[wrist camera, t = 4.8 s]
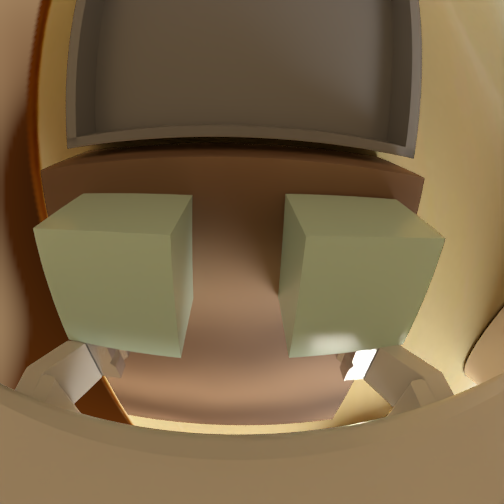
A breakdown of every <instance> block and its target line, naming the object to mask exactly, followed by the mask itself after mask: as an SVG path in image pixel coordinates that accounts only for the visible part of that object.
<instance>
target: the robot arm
mask: <svg viewBox="0 0 504 504" xmlns="http://www.w3.org/2000/svg"><path fill="white" fill-rule="evenodd" d="M129 354H130V351H125V350H119V349H113V348H108V347H103V346H98V345H93V344H88V343H83V342H79V341H74V340H71V341H67V342H65V343H64V344H62V345H60V346H59V347H57V348H56V349H54V350H53V351H51V352H50V353H48V354H47V355H45V356H44V357H42V358H40V359H39V360H37V361H36V362H34V363H33V364H31V365H30V366H28V367H27V368H26V370H25V372H24V374H23V376H22V377H21V379H20V381H19V383H18V385H17V387H16V389H15V390H13V389H11V388H8V387H7V386H4V385H2V384H0V504H504V307H503V308H502V310H501V311H500V312H499V314H498V315H497V316H496V317H495V319H494V320H493V321H492V322H491V324H490V325H489V326H488V328H487V329H486V330H485V332H484V333H483V335H482V336H481V338H480V339H479V340H478V342H477V344H476V345H475V347H474V348H473V350H472V352H471V354H470V356H469V358H468V360H467V362H466V365H465V370H464V372H465V375H466V376H467V377H469V378H470V379H471V380H472V381H474V382H475V383H476V384H477V386H475V387H472V388H470V389H468V390H465V391H463V392H461V393H458V394H456V395H454V394H453V392H452V390H451V389H450V387H449V385H448V383H447V381H446V379H445V378H444V376H443V374H442V372H440V371H439V370H437V369H436V368H434V367H433V366H431V365H430V364H428V363H426V362H425V361H423V360H422V359H420V358H419V357H417V356H416V355H414V354H412V353H411V352H409V351H408V350H406V349H405V348H403V347H402V346H400V345H393V346H387V347H381V348H378V349H371V350H364V351H356V352H348V353H339V354H335V355H336V359H337V360H339V361H340V362H341V365H340V367H339V368H340V371H341V374H342V377H343V380H344V381H347V380H355V379H363V378H364V380H365V381H366V382H367V383H368V384H369V385H370V386H371V387H372V388H373V389H374V390H375V391H376V392H378V393H379V394H380V395H381V396H382V397H383V398H384V399H385V400H386V401H387V402H388V403H389V404H390V405H391V406H393V408H392V410H391V411H390V412H389V413H388V415H387V416H386V417H383V418H379V419H375V420H371V421H366V422H361V423H356V424H351V425H345V426H339V427H333V428H326V429H319V430H311V431H302V432H291V433H277V434H253V435H224V434H201V433H187V432H176V431H167V430H159V429H152V428H145V427H139V426H133V425H127V424H122V423H118V422H113V421H108V420H104V419H100V418H95V417H92V416H88V415H84V414H81V413H80V411H79V410H78V409H77V408H76V406H75V405H74V403H75V402H76V401H77V400H78V399H79V398H80V397H81V396H83V395H84V393H86V392H87V391H88V390H89V389H90V388H91V387H92V386H93V385H94V384H95V383H96V382H97V381H98V380H99V379H100V378H101V377H102V376H108V377H115V378H121V377H122V374H123V371H124V368H125V363H124V360H125V359H126V358H127V357H129Z"/></svg>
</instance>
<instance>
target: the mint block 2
mask: <svg viewBox="0 0 504 504" xmlns="http://www.w3.org/2000/svg"><path fill="white" fill-rule="evenodd" d="M444 242H445V237H443V236H442V235H441V234H440V233H439V232H437V231H436V230H435V229H434V228H433V227H431V226H430V225H429V224H428V223H426V222H425V221H424V220H423V219H421V218H420V217H419V216H418V215H416V214H415V213H414V212H412V211H411V210H410V209H408V208H407V207H406V206H404V205H403V204H402V203H400V202H399V201H398V200H396V199H385V198H371V197H356V196H338V195H314V194H285V210H284V225H283V240H282V254H281V267H280V279H279V291H278V299H279V304H280V310H281V316H282V321H283V327H284V332H285V338H286V344H287V350H288V355H289V358H293V357H307V356H319V355H330V354H339V353H348V352H356V351H364V350H371V349H378V348H381V347H387V346H393V345H402V344H403V343H404V341H405V339H406V337H407V335H408V333H409V331H410V329H411V327H412V324H413V322H414V320H415V318H416V316H417V314H418V311H419V309H420V307H421V304H422V302H423V300H424V297H425V295H426V292H427V290H428V287H429V285H430V282H431V280H432V277H433V274H434V272H435V269H436V266H437V263H438V260H439V257H440V254H441V251H442V248H443V245H444Z"/></svg>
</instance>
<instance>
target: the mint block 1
mask: <svg viewBox="0 0 504 504" xmlns="http://www.w3.org/2000/svg"><path fill="white" fill-rule="evenodd" d="M192 196H193V195H178V194H143V193H83V194H82V195H80V196H79V197H77V198H76V199H74V200H73V201H71V202H69V203H68V204H67V205H65V206H64V207H62V208H61V209H59V210H58V211H56V212H55V213H54V214H52V215H51V216H49V217H48V218H47V219H45V220H44V221H42V222H41V223H40V224H38V225H37V226H36V227H34V228H33V230H34V235H35V239H36V243H37V247H38V251H39V255H40V259H41V263H42V266H43V270H44V273H45V276H46V280H47V282H48V286H49V289H50V292H51V295H52V298H53V300H54V303H55V306H56V309H57V311H58V314H59V317H60V319H61V322H62V324H63V327H64V329H65V331H66V333H67V336H68V338H69V339H70V340H74V341H79V342H83V343H88V344H93V345H98V346H103V347H108V348H113V349H119V350H125V351H131V352H138V353H144V354H151V355H159V356H167V357H176V358H181V355H182V350H183V345H184V340H185V335H186V330H187V326H188V321H189V316H190V311H191V307H192V302H193V266H192Z"/></svg>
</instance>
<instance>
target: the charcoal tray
mask: <svg viewBox="0 0 504 504" xmlns="http://www.w3.org/2000/svg"><path fill="white" fill-rule="evenodd" d="M421 79H422V39H421V20H420V8H419V0H77V1H76V6H75V11H74V17H73V22H72V29H71V36H70V44H69V53H68V64H67V80H66V132H67V149H69V148H75V147H81V146H88V145H95V144H102V143H111V142H120V141H130V140H141V139H155V138H174V137H252V138H272V139H286V140H298V141H308V142H318V143H326V144H334V145H342V146H349V147H355V148H362V149H368V150H374V151H379V152H385V153H390V154H395V155H400V156H404V157H409V158H413V159H414V154H415V147H416V139H417V131H418V122H419V112H420V98H421Z"/></svg>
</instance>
